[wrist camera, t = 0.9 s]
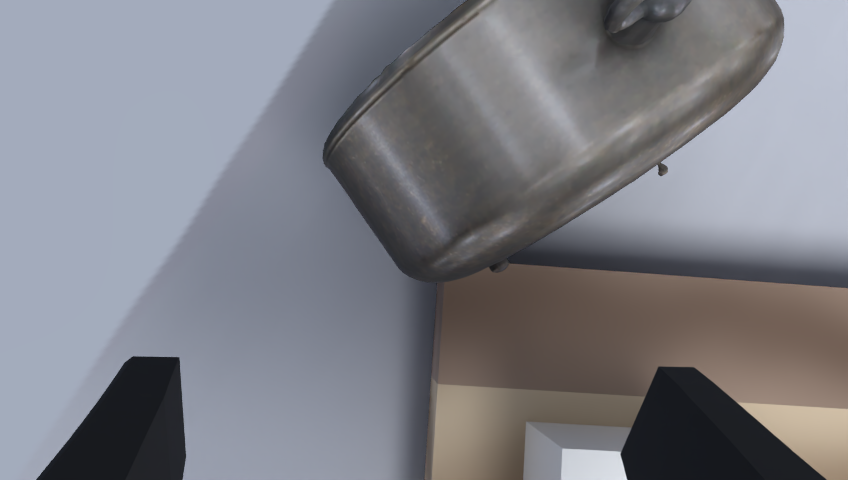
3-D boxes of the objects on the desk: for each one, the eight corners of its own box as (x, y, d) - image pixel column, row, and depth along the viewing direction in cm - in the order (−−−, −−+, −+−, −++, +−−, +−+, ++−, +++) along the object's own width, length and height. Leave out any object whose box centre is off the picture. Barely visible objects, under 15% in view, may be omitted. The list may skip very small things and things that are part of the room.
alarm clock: (580, 19, 25) (971, -514, 9) (668, 142, 25) (1234, -172, 8) (327, 188, 23) (230, -69, 7) (418, 319, 23) (521, 348, 7)
